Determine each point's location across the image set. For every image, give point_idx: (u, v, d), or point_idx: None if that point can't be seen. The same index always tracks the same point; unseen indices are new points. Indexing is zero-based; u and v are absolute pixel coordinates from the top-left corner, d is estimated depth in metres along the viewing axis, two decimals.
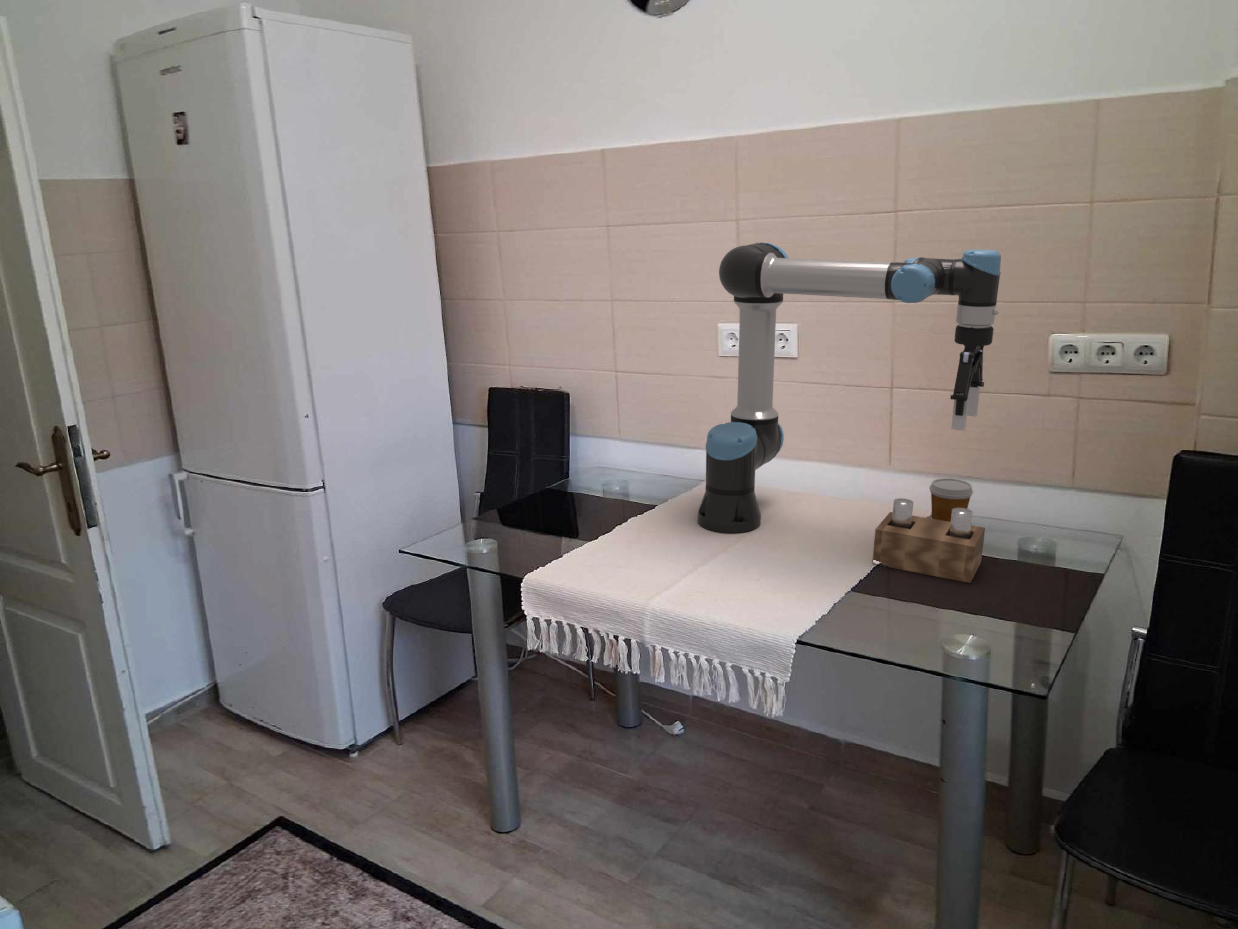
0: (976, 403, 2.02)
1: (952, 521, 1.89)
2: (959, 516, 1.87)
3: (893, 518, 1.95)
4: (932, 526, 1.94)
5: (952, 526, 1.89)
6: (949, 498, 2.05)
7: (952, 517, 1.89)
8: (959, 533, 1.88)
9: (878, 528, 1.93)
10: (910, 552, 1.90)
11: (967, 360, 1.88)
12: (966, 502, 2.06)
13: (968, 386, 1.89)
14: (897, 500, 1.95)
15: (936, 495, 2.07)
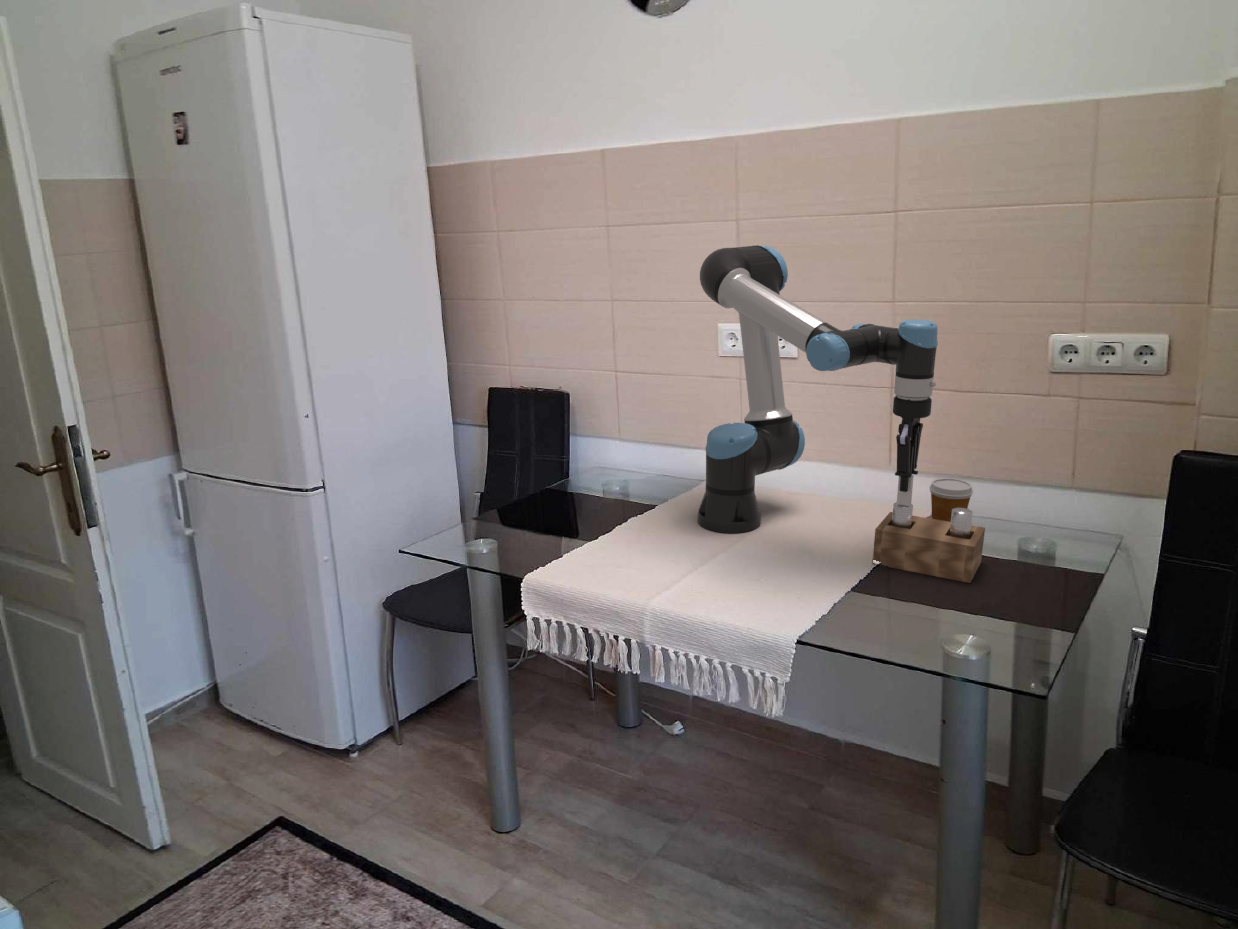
0: None
1: (952, 521, 1.89)
2: (959, 516, 1.87)
3: (893, 522, 1.95)
4: (932, 526, 1.94)
5: (952, 526, 1.89)
6: (949, 498, 2.05)
7: (952, 517, 1.89)
8: (959, 533, 1.88)
9: (878, 528, 1.93)
10: (910, 552, 1.90)
11: (905, 443, 1.85)
12: (966, 502, 2.06)
13: (910, 464, 1.89)
14: (896, 503, 1.95)
15: (936, 495, 2.07)
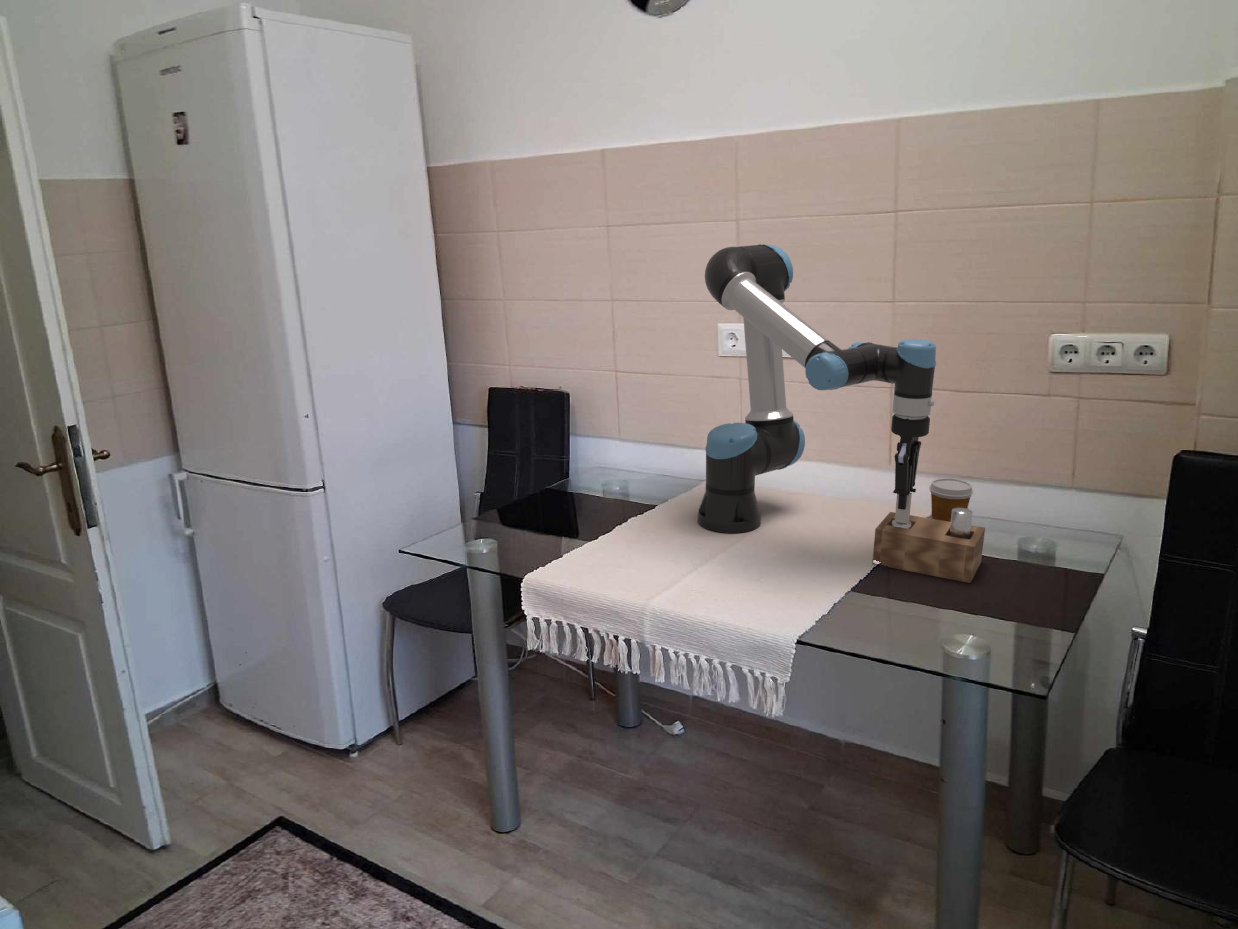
0: None
1: (952, 521, 1.89)
2: (959, 516, 1.87)
3: None
4: (932, 526, 1.94)
5: (952, 526, 1.89)
6: (949, 498, 2.05)
7: (952, 517, 1.89)
8: (959, 533, 1.88)
9: (878, 528, 1.93)
10: (910, 552, 1.90)
11: (903, 462, 1.86)
12: (966, 502, 2.06)
13: (908, 482, 1.91)
14: None
15: (936, 495, 2.07)
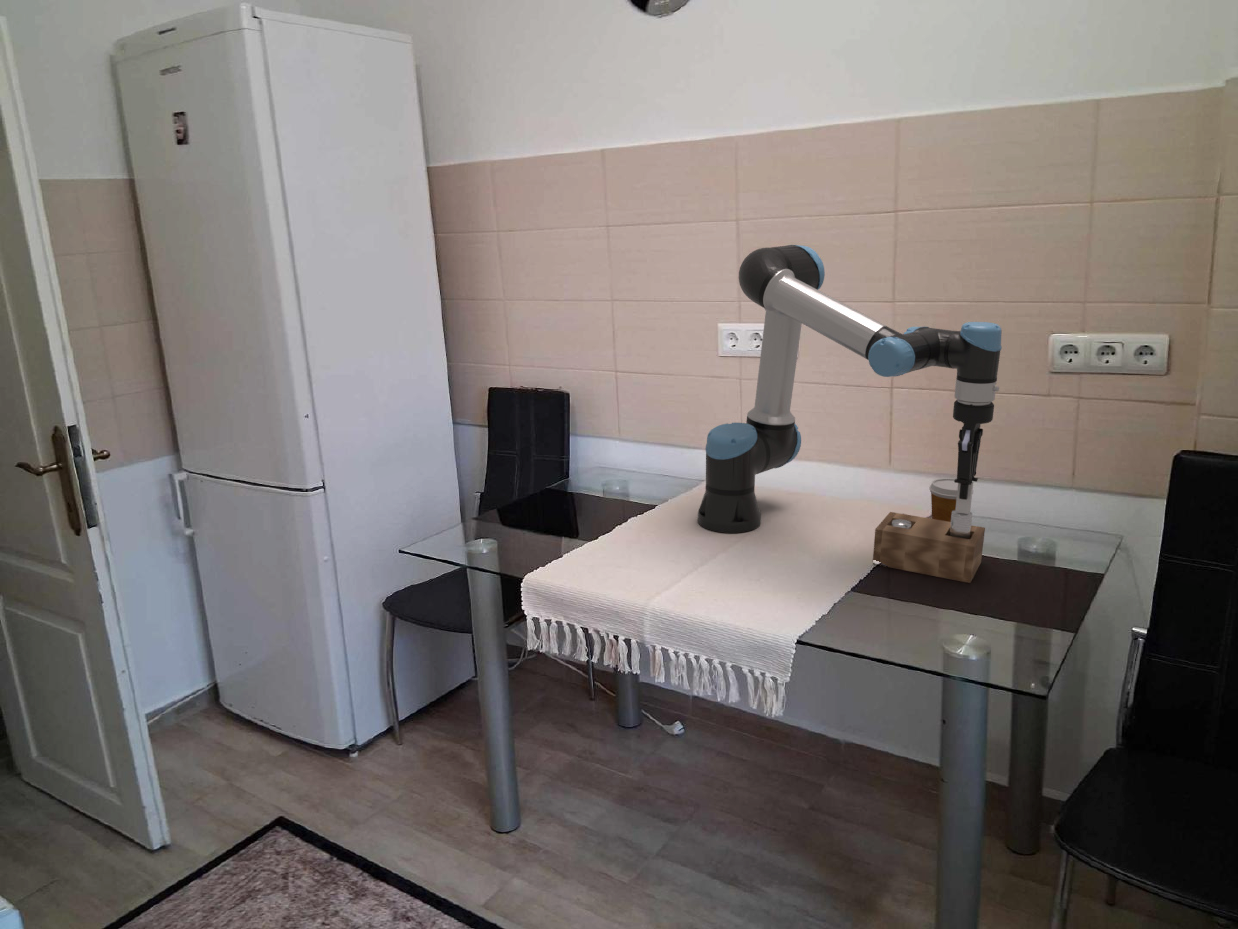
0: None
1: (952, 523, 1.89)
2: (958, 518, 1.87)
3: None
4: (932, 526, 1.94)
5: (952, 528, 1.89)
6: (949, 498, 2.05)
7: (952, 519, 1.89)
8: (959, 535, 1.88)
9: (878, 528, 1.93)
10: (910, 552, 1.90)
11: (967, 449, 1.79)
12: None
13: (971, 471, 1.83)
14: (895, 521, 1.97)
15: (936, 495, 2.07)
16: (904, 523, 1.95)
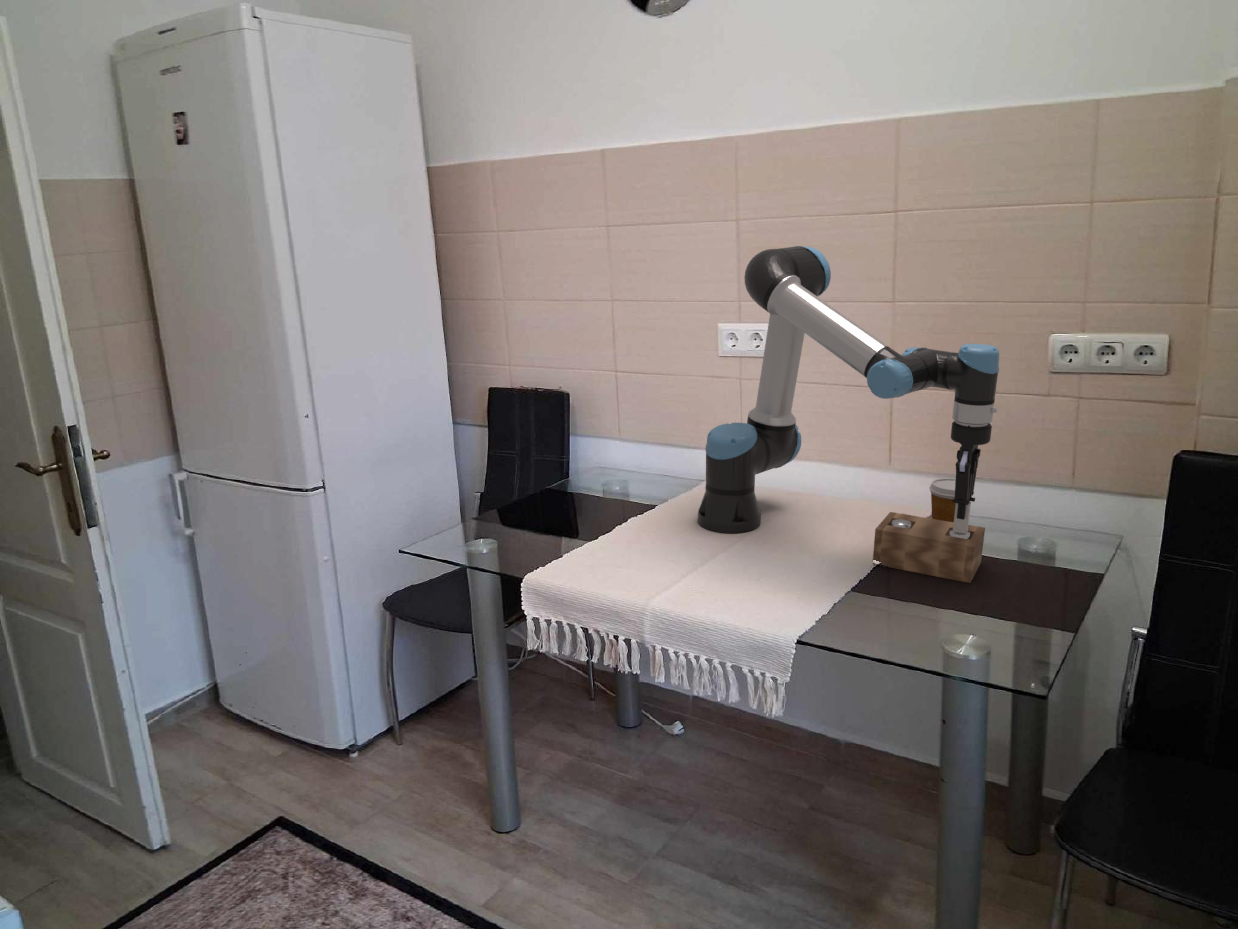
0: None
1: None
2: None
3: None
4: (932, 526, 1.94)
5: None
6: (949, 498, 2.05)
7: None
8: None
9: (878, 528, 1.93)
10: (910, 552, 1.90)
11: (964, 470, 1.80)
12: None
13: (968, 491, 1.85)
14: (895, 521, 1.97)
15: (936, 495, 2.07)
16: (904, 523, 1.95)
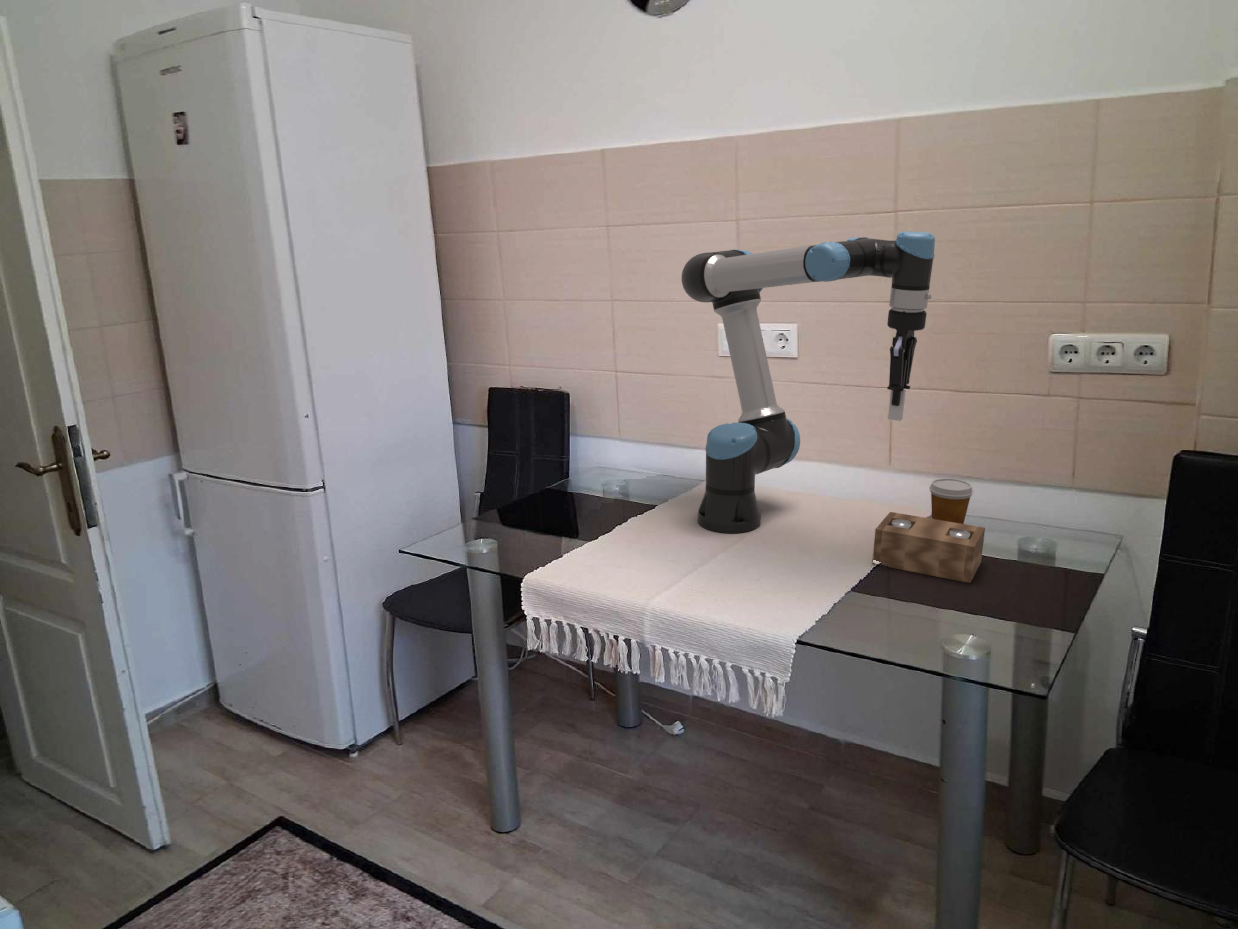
0: None
1: None
2: None
3: None
4: (932, 526, 1.94)
5: None
6: (949, 498, 2.05)
7: None
8: None
9: (878, 528, 1.93)
10: (910, 552, 1.90)
11: (898, 355, 1.86)
12: (966, 502, 2.06)
13: (903, 377, 1.90)
14: (895, 521, 1.97)
15: (936, 495, 2.07)
16: (904, 523, 1.95)
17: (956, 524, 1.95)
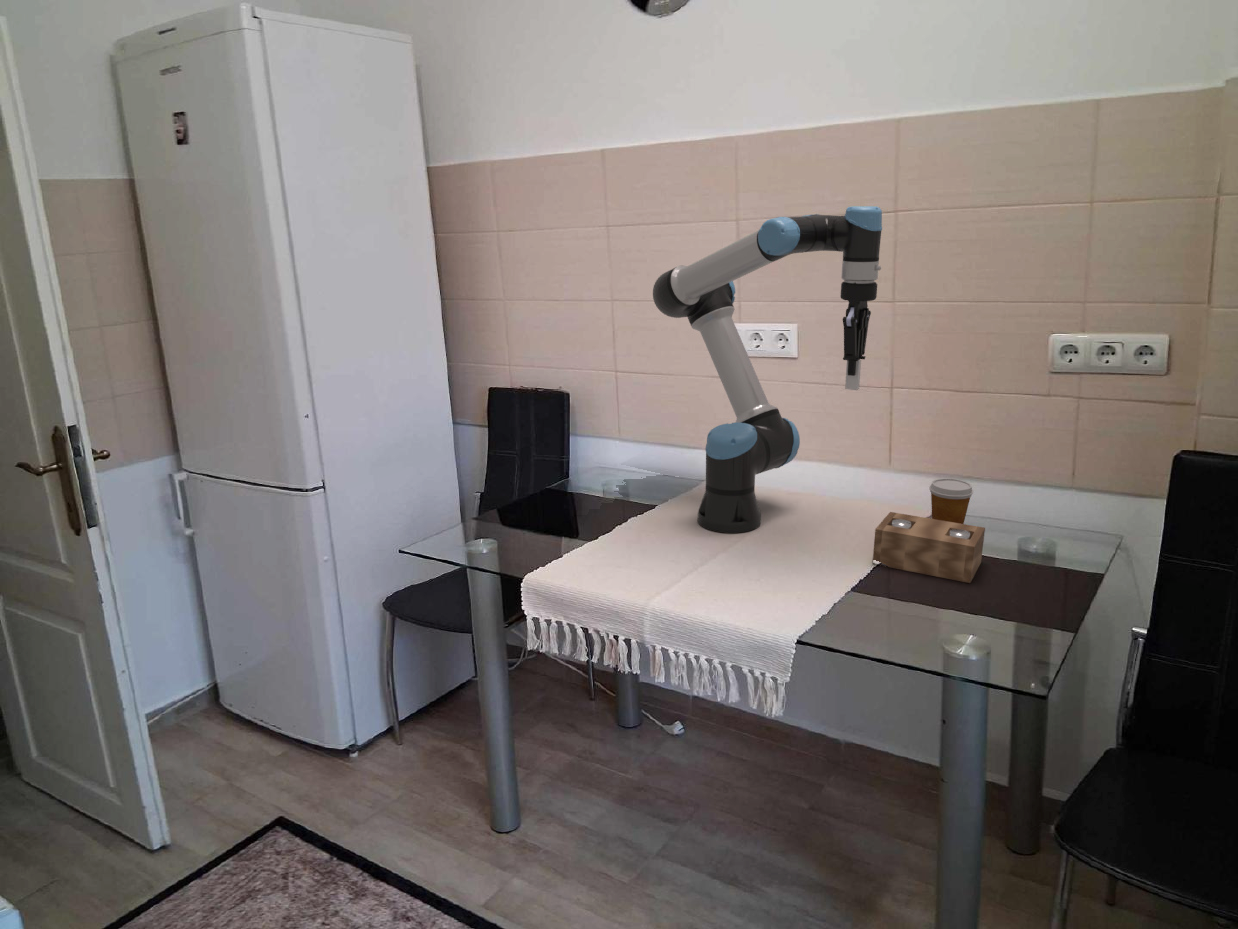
0: None
1: None
2: None
3: None
4: (932, 526, 1.94)
5: None
6: (949, 498, 2.05)
7: None
8: None
9: (878, 528, 1.93)
10: (910, 552, 1.90)
11: (851, 324, 1.92)
12: (966, 502, 2.06)
13: (857, 347, 1.97)
14: (895, 521, 1.97)
15: (936, 495, 2.07)
16: (904, 523, 1.95)
17: (956, 524, 1.95)
